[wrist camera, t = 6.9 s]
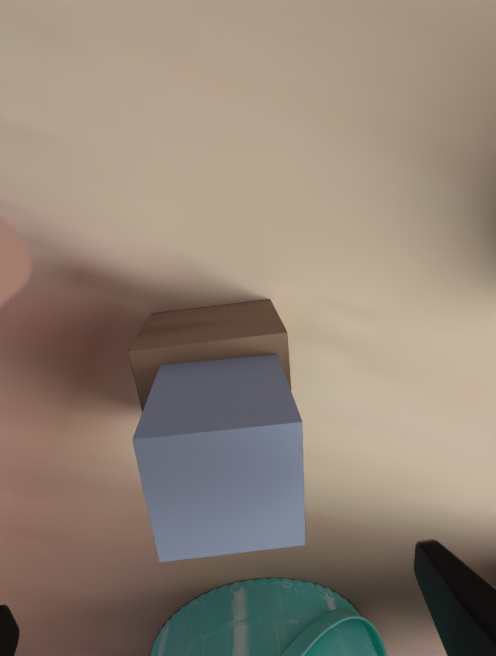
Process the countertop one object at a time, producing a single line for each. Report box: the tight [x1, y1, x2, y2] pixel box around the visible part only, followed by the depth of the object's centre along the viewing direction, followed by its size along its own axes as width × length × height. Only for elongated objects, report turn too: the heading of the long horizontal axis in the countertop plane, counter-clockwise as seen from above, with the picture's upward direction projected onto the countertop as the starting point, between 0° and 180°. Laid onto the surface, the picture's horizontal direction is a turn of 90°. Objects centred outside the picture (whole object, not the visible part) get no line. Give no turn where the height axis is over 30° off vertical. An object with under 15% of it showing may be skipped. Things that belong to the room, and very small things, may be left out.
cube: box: [132, 354, 305, 563], centre depth 12 cm, size 4×4×4 cm
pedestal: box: [128, 299, 291, 412], centre depth 17 cm, size 6×6×5 cm
